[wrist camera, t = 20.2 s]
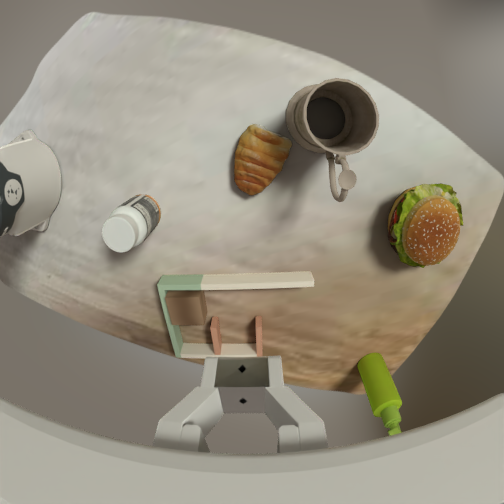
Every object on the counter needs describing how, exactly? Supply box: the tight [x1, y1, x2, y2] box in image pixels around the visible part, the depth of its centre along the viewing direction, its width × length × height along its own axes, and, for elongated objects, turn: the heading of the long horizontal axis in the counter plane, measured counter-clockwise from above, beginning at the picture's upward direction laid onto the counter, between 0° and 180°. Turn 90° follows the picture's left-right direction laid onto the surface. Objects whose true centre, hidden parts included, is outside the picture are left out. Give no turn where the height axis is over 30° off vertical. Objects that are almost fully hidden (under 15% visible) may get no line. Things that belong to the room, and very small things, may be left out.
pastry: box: [234, 124, 292, 195], centre depth 36 cm, size 9×7×4 cm
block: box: [165, 290, 207, 325], centre depth 45 cm, size 6×6×4 cm
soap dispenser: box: [357, 353, 402, 436], centre depth 45 cm, size 6×7×20 cm
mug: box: [286, 78, 379, 202], centre depth 30 cm, size 14×10×12 cm
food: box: [388, 184, 463, 268], centre depth 37 cm, size 14×14×8 cm
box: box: [157, 271, 314, 358], centre depth 47 cm, size 24×16×3 cm, turn 92°
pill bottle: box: [102, 194, 161, 253], centre depth 36 cm, size 6×6×10 cm
